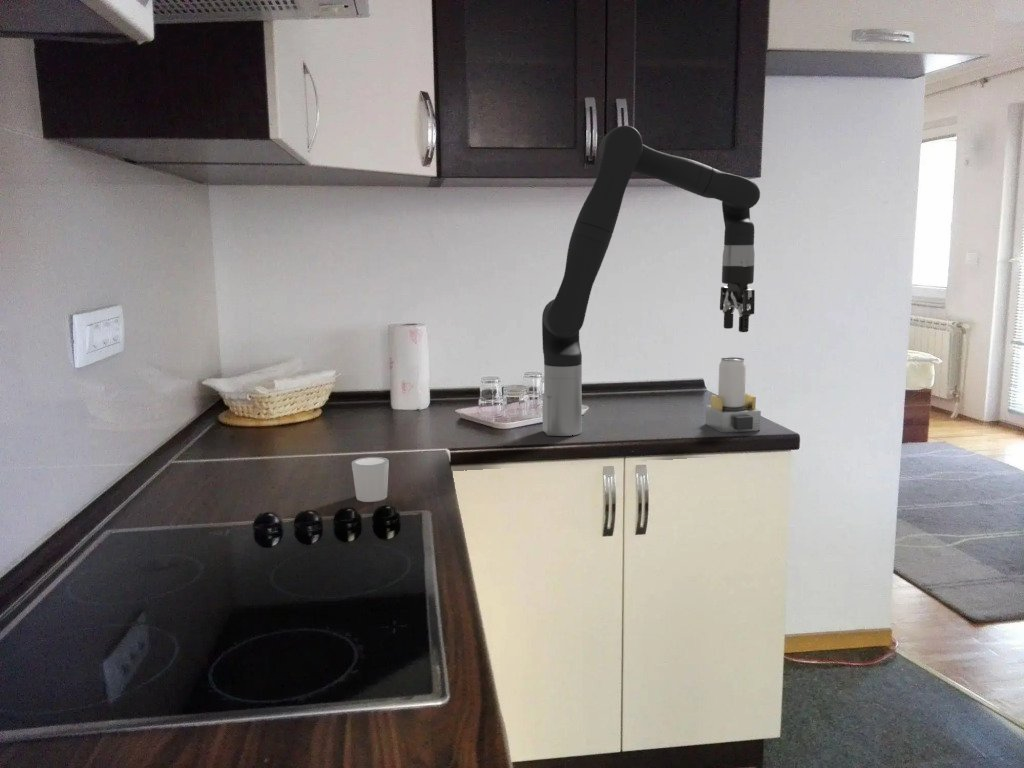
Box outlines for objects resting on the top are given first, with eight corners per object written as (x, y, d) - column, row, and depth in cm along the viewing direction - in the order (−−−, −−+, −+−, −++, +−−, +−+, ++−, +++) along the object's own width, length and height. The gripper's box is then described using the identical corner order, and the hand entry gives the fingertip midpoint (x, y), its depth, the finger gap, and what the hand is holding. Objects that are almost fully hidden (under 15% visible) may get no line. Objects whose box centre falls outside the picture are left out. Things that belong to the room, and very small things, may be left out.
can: (747, 408, 199) (749, 360, 197) (721, 408, 199) (722, 360, 197) (740, 403, 206) (742, 356, 204) (715, 403, 206) (716, 357, 204)
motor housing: (725, 434, 195) (726, 402, 194) (705, 423, 207) (706, 393, 206) (763, 432, 197) (765, 400, 196) (741, 422, 209) (742, 391, 207)
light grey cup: (379, 489, 155) (378, 454, 154) (397, 498, 149) (395, 461, 148) (347, 496, 151) (345, 460, 150) (363, 505, 145) (361, 468, 144)
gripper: (711, 263, 202) (709, 327, 205) (736, 264, 188) (734, 333, 191) (739, 263, 204) (737, 327, 206) (766, 264, 190) (763, 332, 192)
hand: (735, 330), depth 199 cm, fingers open, 8 cm apart
